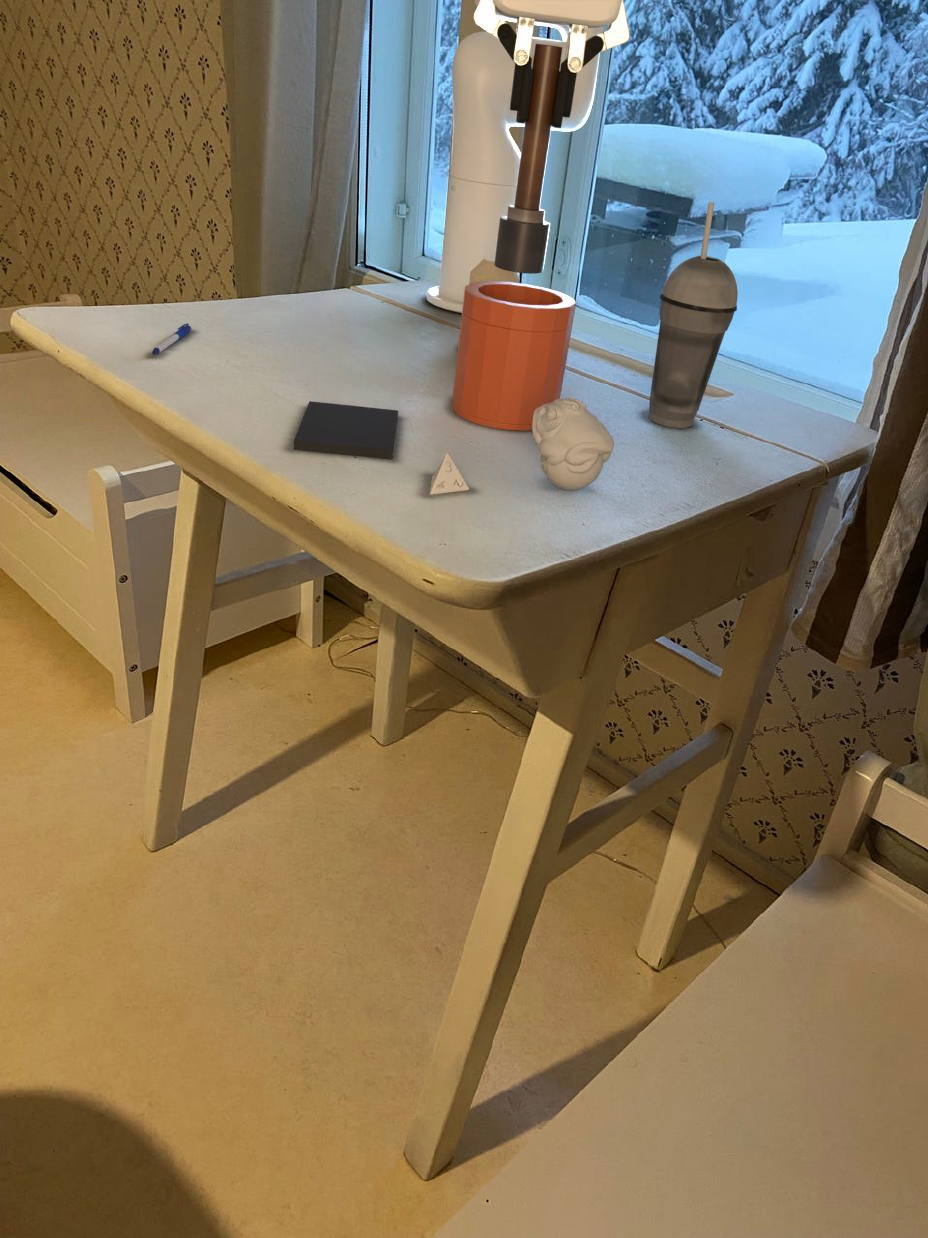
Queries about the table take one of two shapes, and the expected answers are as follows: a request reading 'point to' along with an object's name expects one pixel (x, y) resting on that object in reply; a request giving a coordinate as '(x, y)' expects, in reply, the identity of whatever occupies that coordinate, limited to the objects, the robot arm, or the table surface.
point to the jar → (510, 352)
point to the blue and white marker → (172, 338)
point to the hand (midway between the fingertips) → (538, 122)
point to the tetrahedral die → (447, 478)
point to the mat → (347, 430)
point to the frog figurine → (570, 443)
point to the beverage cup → (690, 334)
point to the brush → (531, 174)
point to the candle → (492, 273)
